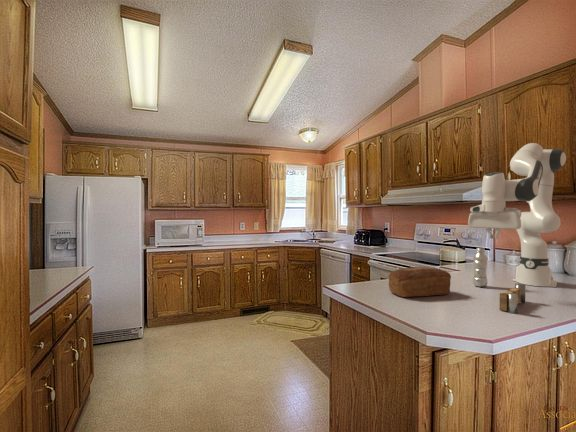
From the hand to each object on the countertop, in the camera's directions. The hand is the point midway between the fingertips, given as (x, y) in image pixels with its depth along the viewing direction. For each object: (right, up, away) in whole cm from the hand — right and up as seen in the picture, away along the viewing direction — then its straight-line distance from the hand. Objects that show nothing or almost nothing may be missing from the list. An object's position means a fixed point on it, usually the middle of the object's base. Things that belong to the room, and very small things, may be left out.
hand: (493, 238), depth 138 cm
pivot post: (+7, -27, -7) cm, 28 cm away
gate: (-3, -26, -15) cm, 30 cm away
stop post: (-7, -27, -22) cm, 35 cm away
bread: (-31, -27, +5) cm, 41 cm away
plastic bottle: (+6, -27, +20) cm, 34 cm away
